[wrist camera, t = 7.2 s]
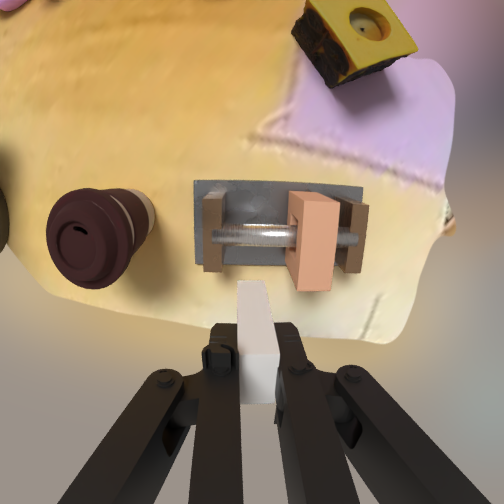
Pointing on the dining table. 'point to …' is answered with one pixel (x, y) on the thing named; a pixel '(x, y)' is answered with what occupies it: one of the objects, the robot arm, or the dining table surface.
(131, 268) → the dining table surface
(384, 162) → the dining table surface
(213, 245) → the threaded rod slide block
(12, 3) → the container set
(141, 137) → the dining table surface
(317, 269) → the collar
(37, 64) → the dining table surface
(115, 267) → the coffee cup
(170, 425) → the robot arm
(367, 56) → the candle
